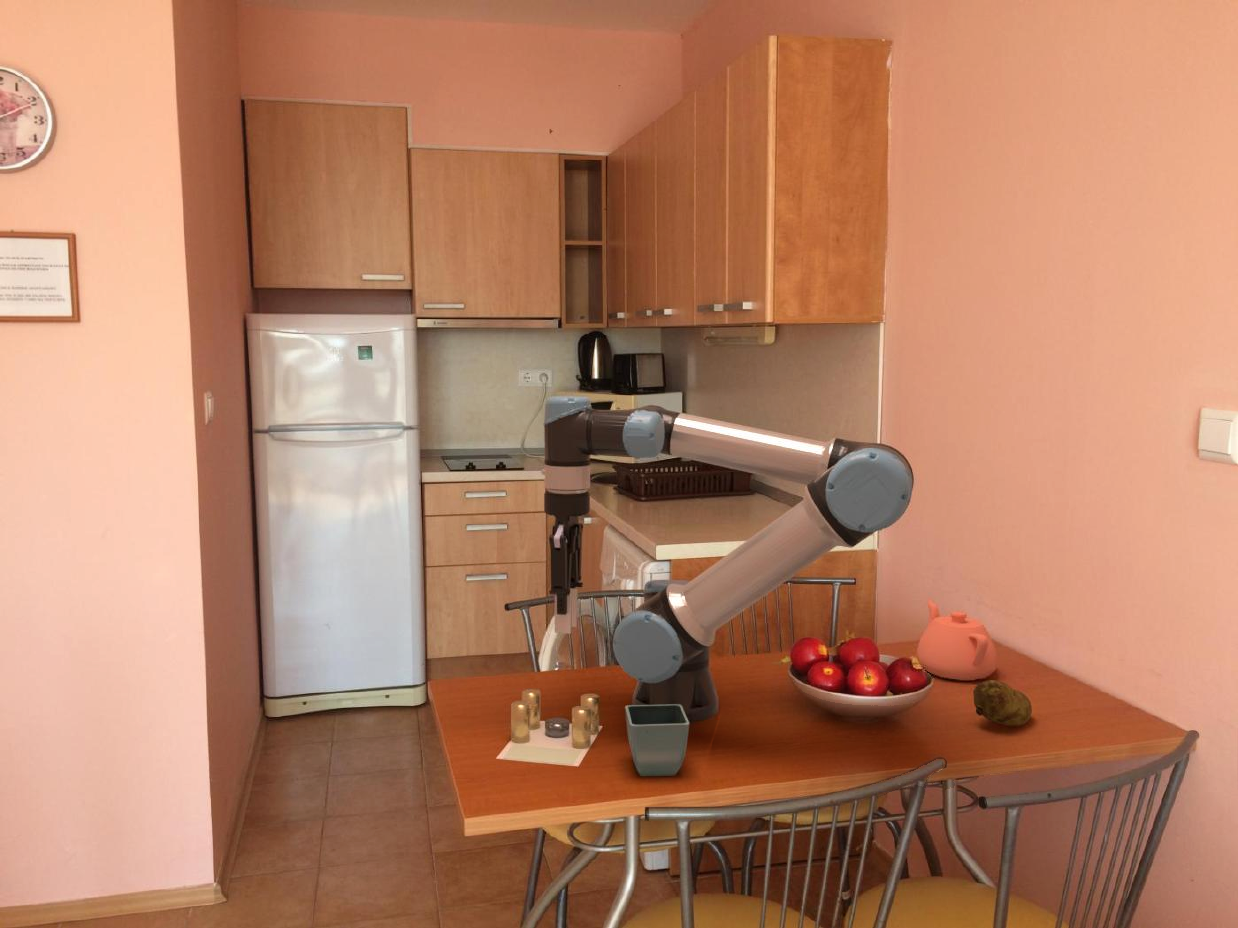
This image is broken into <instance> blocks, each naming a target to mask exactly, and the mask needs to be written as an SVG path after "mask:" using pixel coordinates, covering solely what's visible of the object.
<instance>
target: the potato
mask: <svg viewBox="0 0 1238 928" xmlns="http://www.w3.org/2000/svg"><path fill="white" fill-rule="evenodd" d="M972 694H973V704H974V706H975V709H976V710H975V714H977V716H982V717H984V718H985V719H987V720H988V721H990V722H993V723H994V722H995V723H999V724H1001V725H1002V726H1005V727H1019V726H1022V725H1024V724H1026V723H1027V722H1028V721H1029V719H1030V718H1031V716H1032V713H1033V710H1032V709H1033V708H1032V707H1033V706H1032V703H1031V700H1030V699H1029V697H1028V696H1026V694H1024V693H1023V692H1022V691H1019V690H1016V689H1014V688H1012V687H1011V686H1010V685H1008V684H1007V683H1005V682H1002V681H1000V680H995V679H994V680H990V679H989V680H985V681H982V682H980V683H978V684H977V685H976V686H975V687H974V689H973V693H972Z"/></svg>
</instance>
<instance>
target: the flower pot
mask: <svg viewBox="0 0 1238 928" xmlns="http://www.w3.org/2000/svg"><path fill="white" fill-rule="evenodd" d="M624 709H625V710H624V711H625V720H626V732H627V738H628V739H627V740H628V743H629V748H630V750H631V756H632V760H633V763H634V766H635V768H636V771H637V772H638V774H639V776H640V777H660V776H661V777H665V776H667V777H669V776H670V777H671V776H676V774H677V773H678V772H679V771H680V768H681V767H682V764H683V762H684V760H685V756H686V752H687V746H688V739H689V738H688V737H689V730H690V722H689V721H688V719H687V717H686V715H685V712H684V710H683V707H682V705H680V704H666V705H633V704H631V705H624Z"/></svg>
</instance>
